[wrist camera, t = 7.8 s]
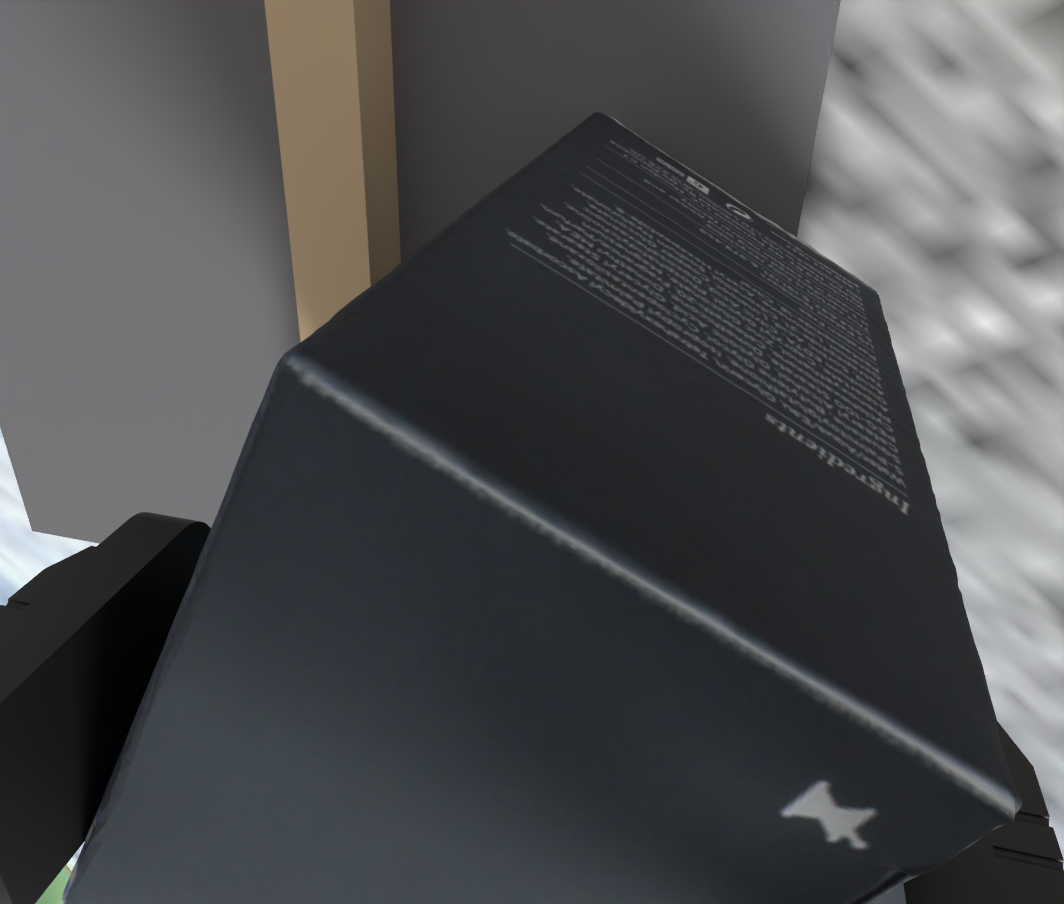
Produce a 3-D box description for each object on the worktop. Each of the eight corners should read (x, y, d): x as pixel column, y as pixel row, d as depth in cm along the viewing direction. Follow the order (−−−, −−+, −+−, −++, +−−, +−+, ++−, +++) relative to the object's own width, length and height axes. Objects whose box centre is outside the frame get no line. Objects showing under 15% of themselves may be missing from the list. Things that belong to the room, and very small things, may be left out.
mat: (879, -225, 12) (896, -254, 10) (718, 646, 20) (714, 705, 18) (-180, -222, 15) (-290, -245, 14) (42, 522, 23) (-11, 563, 22)
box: (592, 99, 14) (263, 337, 5) (884, 288, 14) (1081, 835, 5) (401, 447, 18) (32, 922, 9) (630, 587, 18) (495, 1180, 9)
